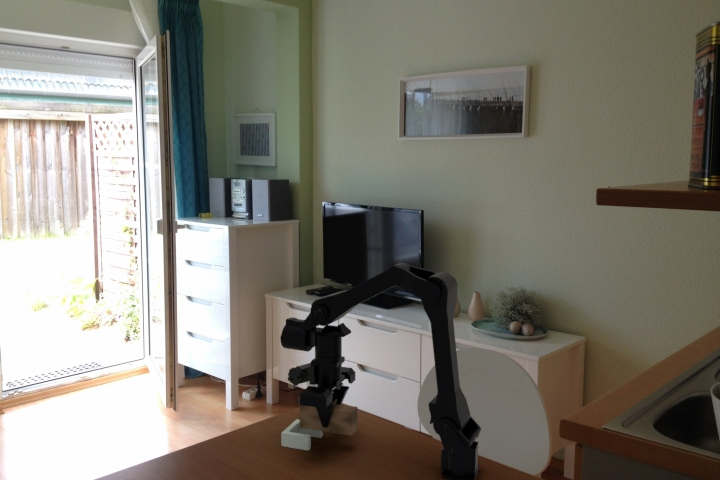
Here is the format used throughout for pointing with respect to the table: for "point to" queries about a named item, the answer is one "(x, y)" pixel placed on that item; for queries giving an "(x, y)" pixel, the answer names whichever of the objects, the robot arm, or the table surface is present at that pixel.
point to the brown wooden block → (339, 423)
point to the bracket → (298, 436)
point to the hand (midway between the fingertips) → (328, 423)
